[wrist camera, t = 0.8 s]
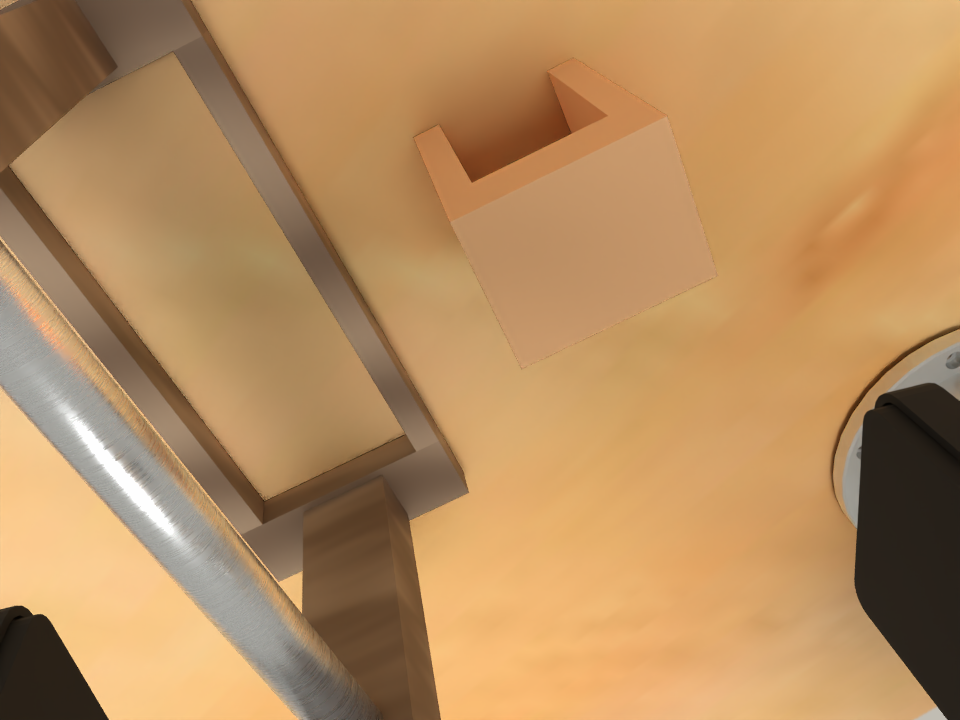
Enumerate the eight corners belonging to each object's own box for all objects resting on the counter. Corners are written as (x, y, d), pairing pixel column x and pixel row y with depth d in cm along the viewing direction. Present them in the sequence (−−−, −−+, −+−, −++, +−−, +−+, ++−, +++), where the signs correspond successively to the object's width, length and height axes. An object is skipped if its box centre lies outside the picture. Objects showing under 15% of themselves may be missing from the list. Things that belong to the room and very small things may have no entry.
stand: (463, 471, 37) (541, 765, 25) (279, 558, 38) (264, 889, 25) (152, -67, 26) (2, -30, 13) (-107, 67, 26) (-488, 226, 14)
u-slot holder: (619, 183, 32) (718, 275, 24) (470, 255, 32) (521, 369, 25) (573, 57, 30) (667, 115, 22) (413, 137, 30) (449, 222, 22)
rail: (408, 728, 26) (413, 780, 25) (355, 752, 27) (359, 805, 25) (-94, 96, 16) (-137, 118, 14) (-177, 139, 16) (-230, 165, 14)
